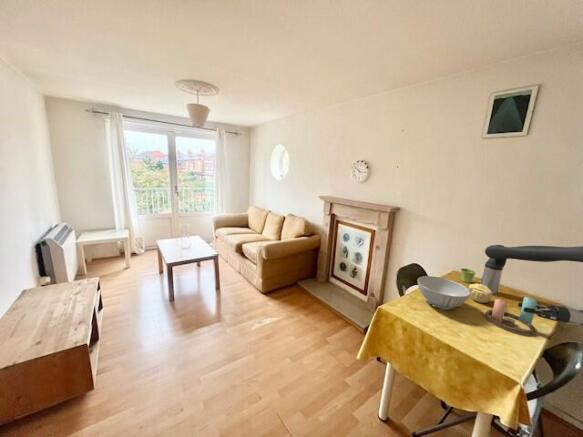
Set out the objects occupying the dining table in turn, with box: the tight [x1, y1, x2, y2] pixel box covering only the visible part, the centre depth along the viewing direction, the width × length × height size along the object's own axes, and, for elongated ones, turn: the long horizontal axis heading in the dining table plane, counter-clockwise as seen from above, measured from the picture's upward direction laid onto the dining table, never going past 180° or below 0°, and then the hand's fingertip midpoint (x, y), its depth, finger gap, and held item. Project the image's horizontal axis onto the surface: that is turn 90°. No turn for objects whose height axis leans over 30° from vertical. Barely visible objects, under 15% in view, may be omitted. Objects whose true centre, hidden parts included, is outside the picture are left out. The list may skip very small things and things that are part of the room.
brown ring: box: [484, 309, 536, 336], centre depth 125 cm, size 19×19×2 cm
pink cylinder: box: [490, 298, 508, 324], centre depth 125 cm, size 5×5×12 cm
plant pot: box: [460, 267, 477, 284], centre depth 176 cm, size 9×9×9 cm
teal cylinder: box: [519, 296, 538, 324], centre depth 119 cm, size 5×5×12 cm
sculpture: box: [468, 282, 493, 304], centre depth 148 cm, size 12×12×11 cm
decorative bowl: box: [417, 275, 471, 310], centre depth 141 cm, size 27×27×12 cm
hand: (521, 307), depth 120 cm, fingers closed on teal cylinder, 4 cm apart
